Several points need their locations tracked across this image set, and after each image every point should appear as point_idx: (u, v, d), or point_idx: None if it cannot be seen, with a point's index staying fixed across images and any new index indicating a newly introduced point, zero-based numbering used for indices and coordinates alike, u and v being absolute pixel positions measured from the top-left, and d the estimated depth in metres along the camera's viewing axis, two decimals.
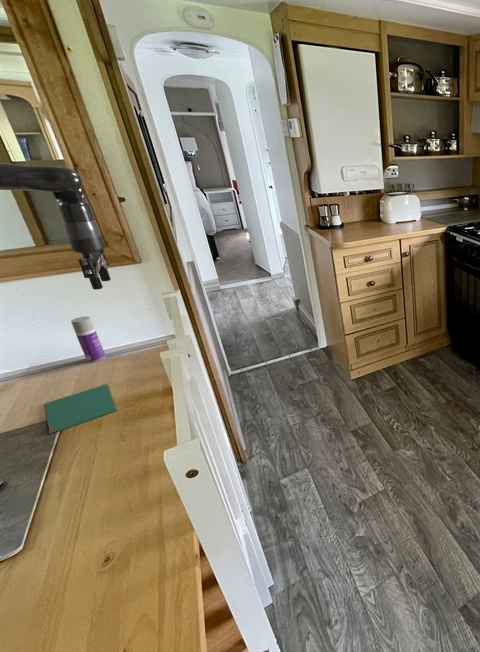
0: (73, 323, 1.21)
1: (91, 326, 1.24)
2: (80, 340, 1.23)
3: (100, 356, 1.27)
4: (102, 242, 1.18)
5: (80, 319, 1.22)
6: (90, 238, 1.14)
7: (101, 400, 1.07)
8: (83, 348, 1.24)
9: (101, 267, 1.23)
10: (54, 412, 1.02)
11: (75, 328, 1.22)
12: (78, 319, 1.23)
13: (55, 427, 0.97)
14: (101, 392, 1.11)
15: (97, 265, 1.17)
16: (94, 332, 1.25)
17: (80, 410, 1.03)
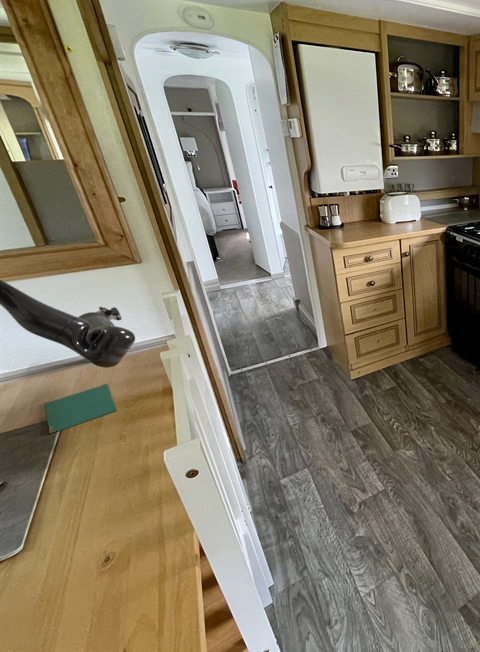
0: None
1: None
2: None
3: None
4: None
5: None
6: None
7: (101, 400, 1.07)
8: None
9: None
10: (54, 412, 1.02)
11: None
12: None
13: (55, 427, 0.97)
14: (101, 392, 1.11)
15: None
16: None
17: (80, 410, 1.03)
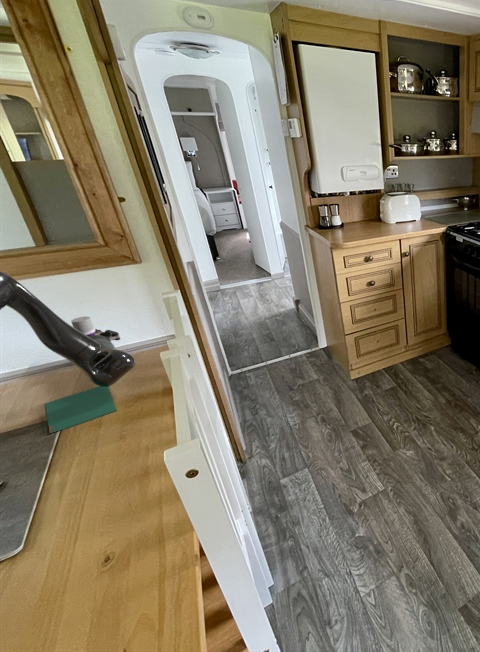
0: (73, 323, 1.21)
1: (91, 326, 1.24)
2: None
3: None
4: None
5: (80, 319, 1.22)
6: None
7: (101, 400, 1.07)
8: None
9: None
10: (54, 412, 1.02)
11: (75, 328, 1.22)
12: (78, 319, 1.23)
13: (55, 427, 0.97)
14: (101, 392, 1.11)
15: None
16: (94, 332, 1.25)
17: (80, 410, 1.03)
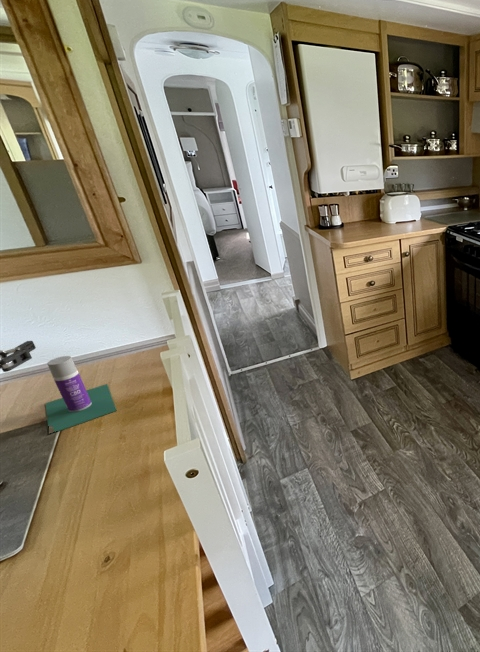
0: None
1: (66, 371, 0.99)
2: (56, 384, 1.00)
3: (77, 407, 1.02)
4: None
5: (57, 361, 0.98)
6: None
7: (101, 400, 1.07)
8: None
9: None
10: (54, 412, 1.02)
11: None
12: (57, 360, 0.99)
13: (55, 427, 0.97)
14: (101, 392, 1.11)
15: None
16: (71, 378, 1.00)
17: None
